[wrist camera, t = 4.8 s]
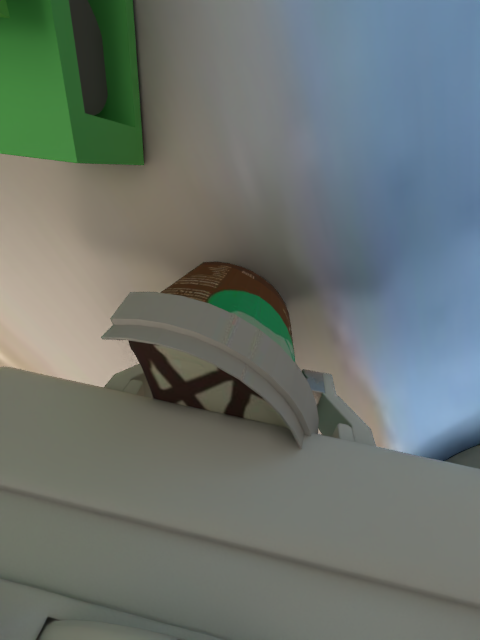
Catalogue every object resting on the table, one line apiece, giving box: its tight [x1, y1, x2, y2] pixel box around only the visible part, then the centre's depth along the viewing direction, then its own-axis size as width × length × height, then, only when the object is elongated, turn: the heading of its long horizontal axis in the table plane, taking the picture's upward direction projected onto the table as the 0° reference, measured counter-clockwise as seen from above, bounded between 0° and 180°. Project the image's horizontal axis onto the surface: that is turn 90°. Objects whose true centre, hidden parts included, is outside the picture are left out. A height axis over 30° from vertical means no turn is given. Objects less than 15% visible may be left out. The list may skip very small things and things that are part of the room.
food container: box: [101, 262, 319, 449], centre depth 14 cm, size 12×6×10 cm, turn 9°
